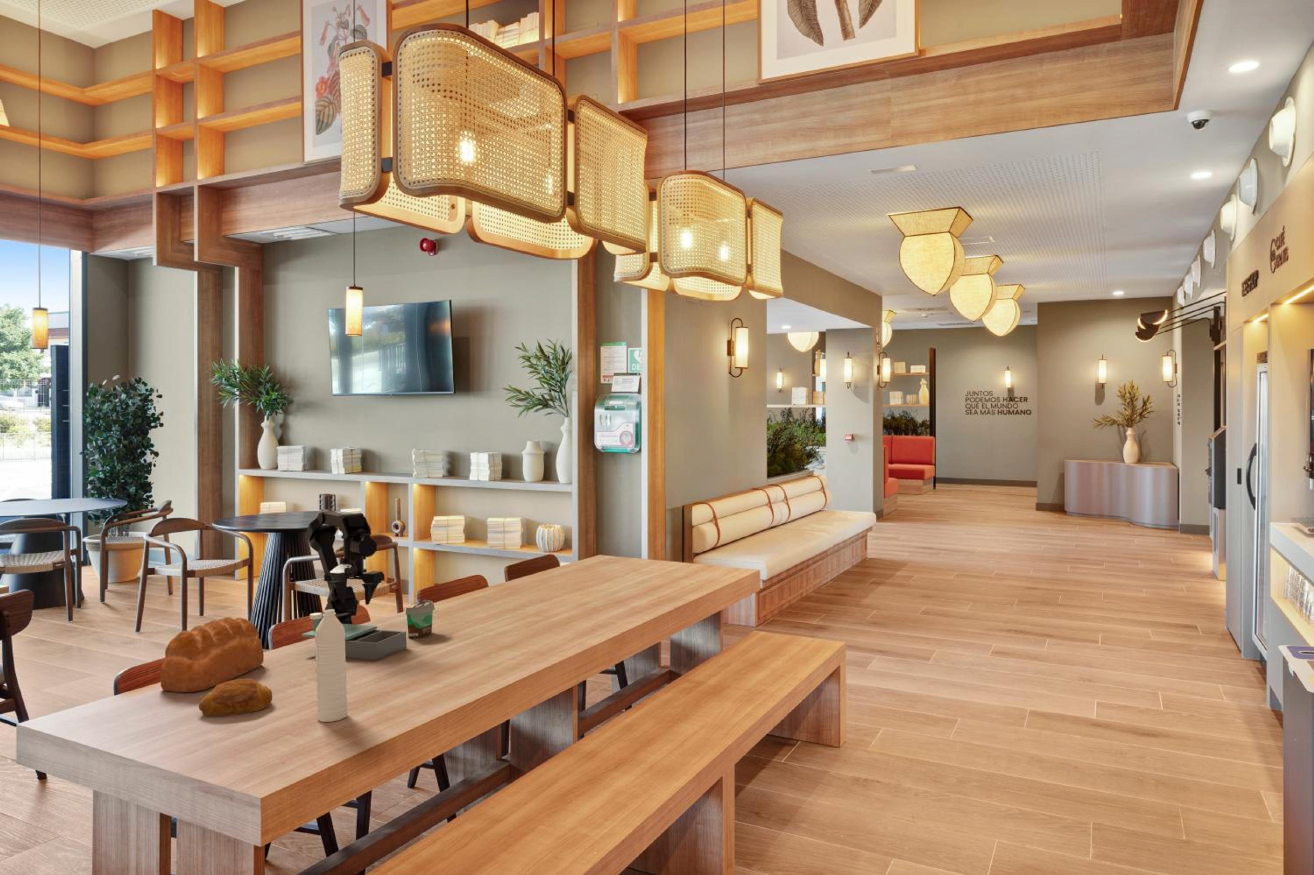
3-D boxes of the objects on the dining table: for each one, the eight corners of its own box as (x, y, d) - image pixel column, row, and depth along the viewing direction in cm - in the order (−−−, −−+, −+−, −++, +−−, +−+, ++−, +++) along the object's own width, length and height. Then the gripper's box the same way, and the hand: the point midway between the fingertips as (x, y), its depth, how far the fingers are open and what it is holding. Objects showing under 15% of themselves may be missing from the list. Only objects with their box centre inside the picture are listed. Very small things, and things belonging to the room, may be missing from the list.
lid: (301, 636, 249) (301, 620, 249) (334, 625, 262) (333, 610, 262) (346, 640, 244) (345, 623, 243) (377, 628, 257) (376, 612, 257)
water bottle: (331, 711, 198) (328, 605, 198) (353, 714, 196) (350, 607, 195) (303, 724, 190) (300, 614, 190) (326, 727, 188) (323, 615, 187)
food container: (424, 640, 262) (423, 608, 262) (406, 639, 264) (405, 608, 263) (442, 630, 274) (441, 600, 274) (424, 630, 276) (423, 599, 275)
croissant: (266, 723, 198) (270, 689, 198) (193, 722, 193) (197, 687, 193) (276, 702, 212) (280, 671, 212) (208, 700, 207) (211, 668, 207)
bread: (153, 692, 217) (151, 632, 216) (228, 662, 242) (226, 609, 242) (199, 695, 213) (197, 634, 213) (270, 665, 239) (268, 611, 239)
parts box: (331, 657, 245) (330, 640, 245) (362, 644, 259) (362, 628, 259) (376, 661, 240) (376, 643, 240) (406, 648, 253) (406, 631, 253)
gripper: (310, 557, 257) (312, 608, 257) (361, 559, 251) (362, 611, 251) (335, 551, 267) (337, 600, 268) (384, 553, 261) (386, 603, 261)
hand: (355, 603), depth 262 cm, fingers open, 9 cm apart
